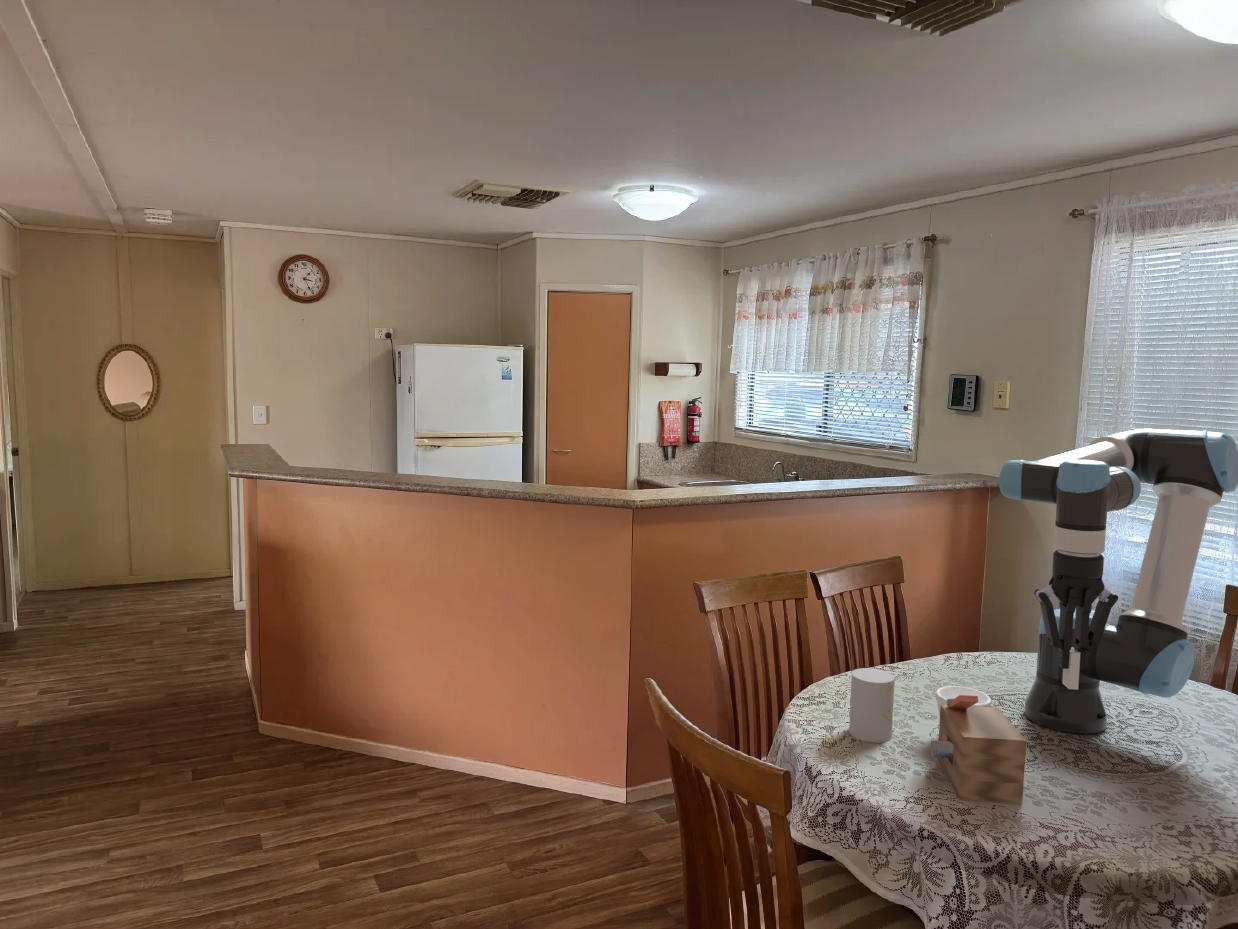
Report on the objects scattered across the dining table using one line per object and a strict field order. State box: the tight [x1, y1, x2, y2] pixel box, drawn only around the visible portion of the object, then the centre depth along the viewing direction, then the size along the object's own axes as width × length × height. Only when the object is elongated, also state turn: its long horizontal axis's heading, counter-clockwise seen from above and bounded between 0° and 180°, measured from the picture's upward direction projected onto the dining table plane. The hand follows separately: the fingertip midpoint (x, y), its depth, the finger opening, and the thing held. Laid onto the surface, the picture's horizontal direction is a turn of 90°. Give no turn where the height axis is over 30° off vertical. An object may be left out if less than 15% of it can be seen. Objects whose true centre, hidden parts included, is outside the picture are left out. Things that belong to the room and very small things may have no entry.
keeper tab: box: [947, 695, 978, 709], centre depth 148 cm, size 3×8×2 cm
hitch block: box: [936, 704, 1027, 805], centre depth 146 cm, size 10×14×11 cm
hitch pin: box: [930, 740, 954, 759], centre depth 146 cm, size 15×5×5 cm, turn 84°
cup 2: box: [935, 685, 992, 717], centre depth 162 cm, size 10×10×9 cm
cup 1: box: [848, 667, 896, 744], centre depth 165 cm, size 8×8×12 cm
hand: (1070, 686), depth 143 cm, fingers closed
